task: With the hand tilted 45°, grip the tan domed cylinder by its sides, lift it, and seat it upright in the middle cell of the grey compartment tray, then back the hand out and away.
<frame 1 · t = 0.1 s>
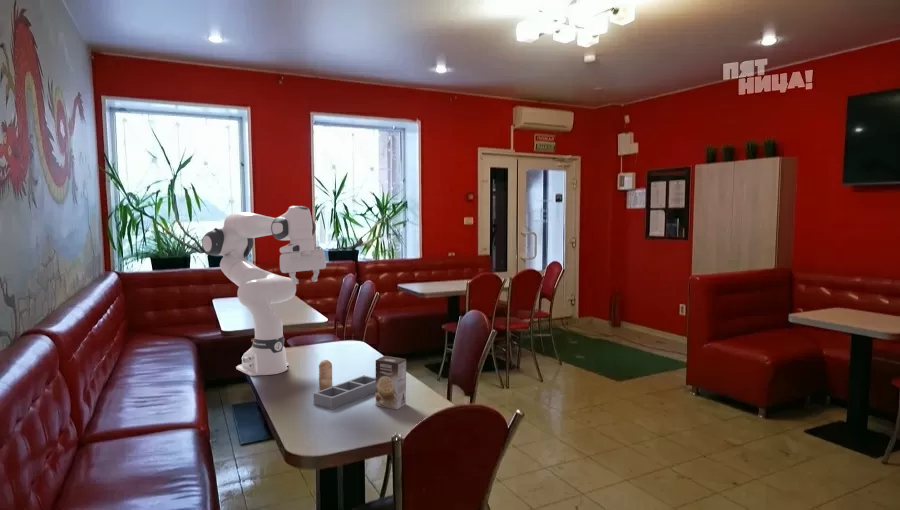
hand: (305, 282, 208), 39 cm above the table, tool pointing down, fingers open, 8 cm apart
tan domed cylinder: (325, 390, 200), on the table
coffee box: (390, 405, 185), on the table
grey compartment tray: (349, 396, 193), on the table
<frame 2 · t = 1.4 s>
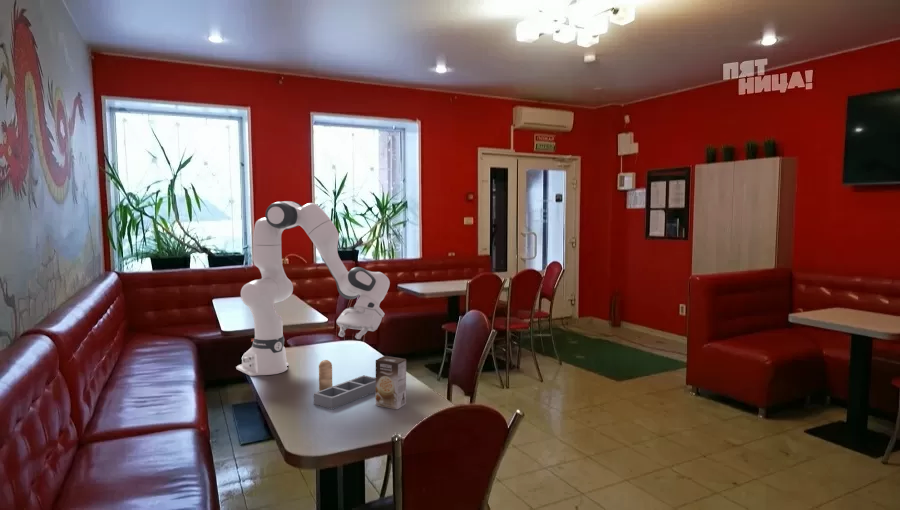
hand: (348, 337, 208), 18 cm above the table, tool tilted 45°, fingers open, 8 cm apart
nothing on the table moved.
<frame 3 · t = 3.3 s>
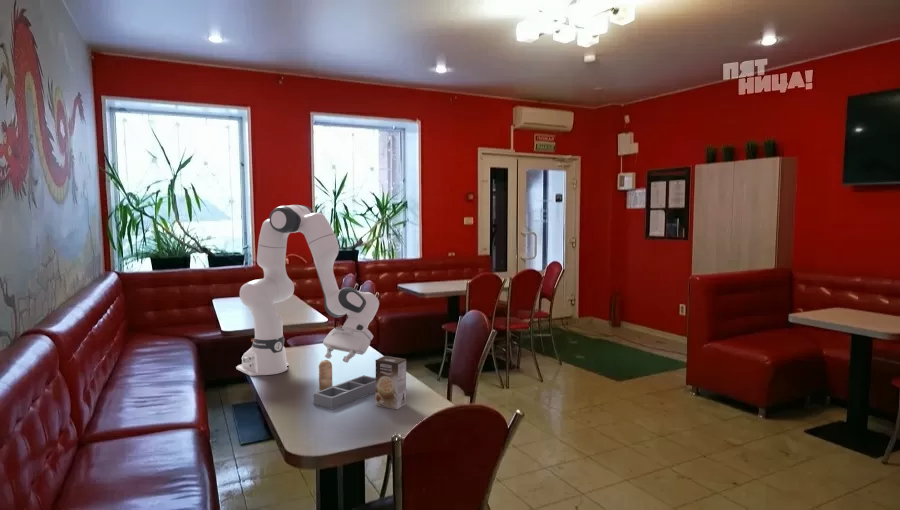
hand: (335, 359, 203), 10 cm above the table, tool tilted 45°, fingers open, 8 cm apart
nothing on the table moved.
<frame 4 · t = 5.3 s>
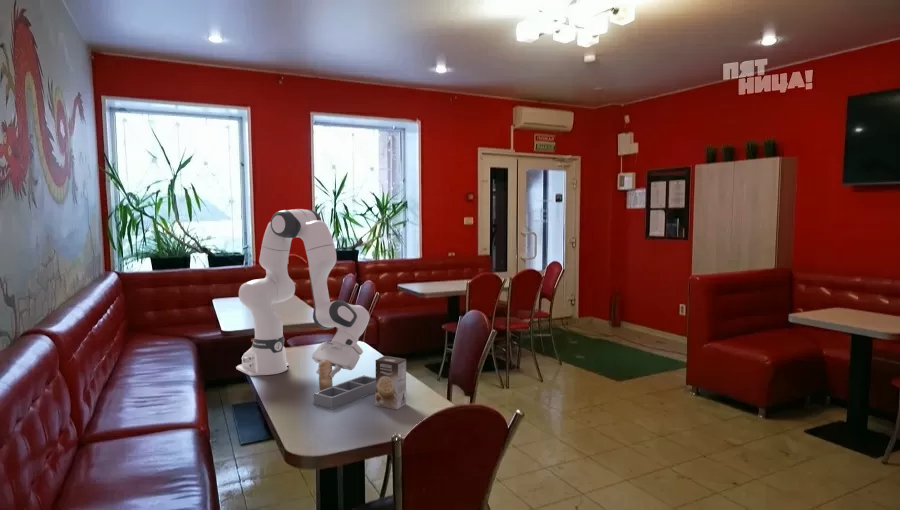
hand: (324, 375, 199), 6 cm above the table, tool tilted 45°, fingers closed on tan domed cylinder, 5 cm apart
tan domed cylinder: (325, 390, 200), on the table, touching gripper
everything else where it was.
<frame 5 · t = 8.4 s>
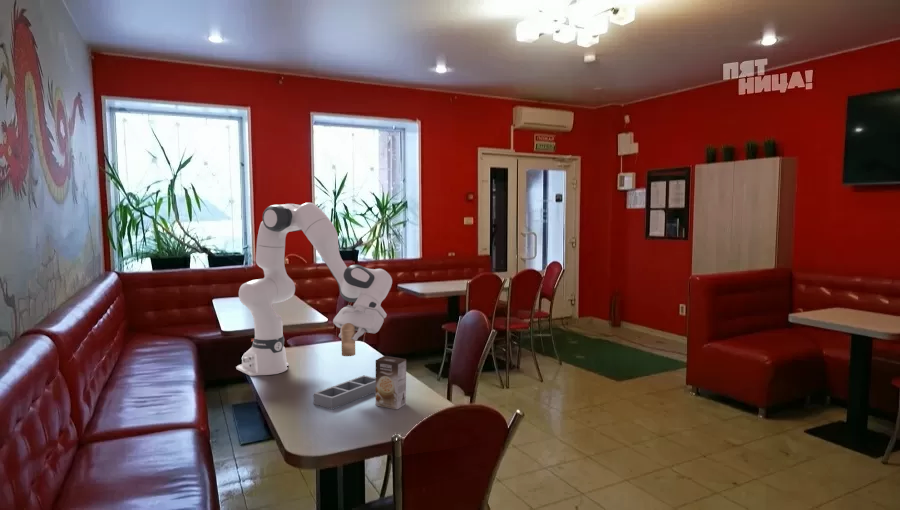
hand: (347, 338, 191), 21 cm above the table, tool tilted 45°, fingers closed on tan domed cylinder, 5 cm apart
tan domed cylinder: (348, 354, 192), point 15 cm above the table, touching gripper
everything else where it was.
when the fingers open (9 cm above the table, at t = 11.6 s): tan domed cylinder drops 2 cm, resting on grey compartment tray.
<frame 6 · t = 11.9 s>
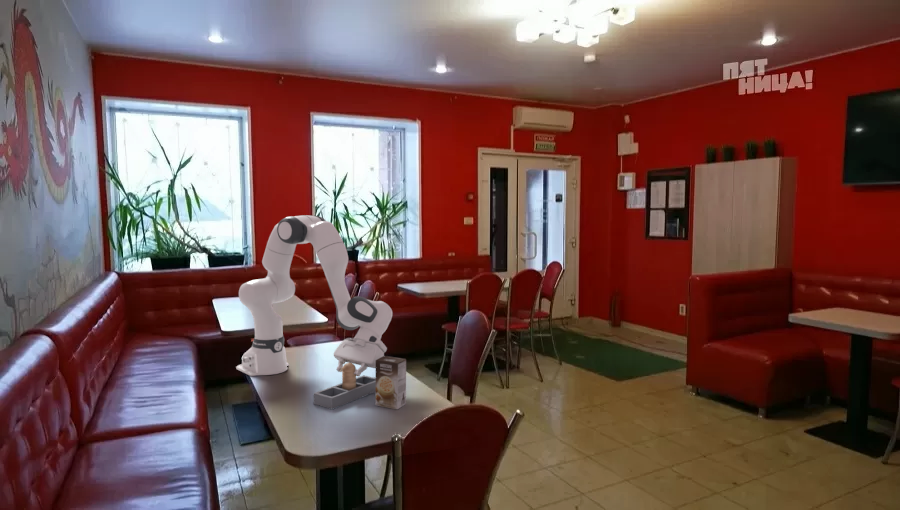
hand: (347, 373, 192), 9 cm above the table, tool tilted 45°, fingers open, 7 cm apart
tan domed cylinder: (349, 394, 193), point 1 cm above the table, touching grey compartment tray
everything else where it was.
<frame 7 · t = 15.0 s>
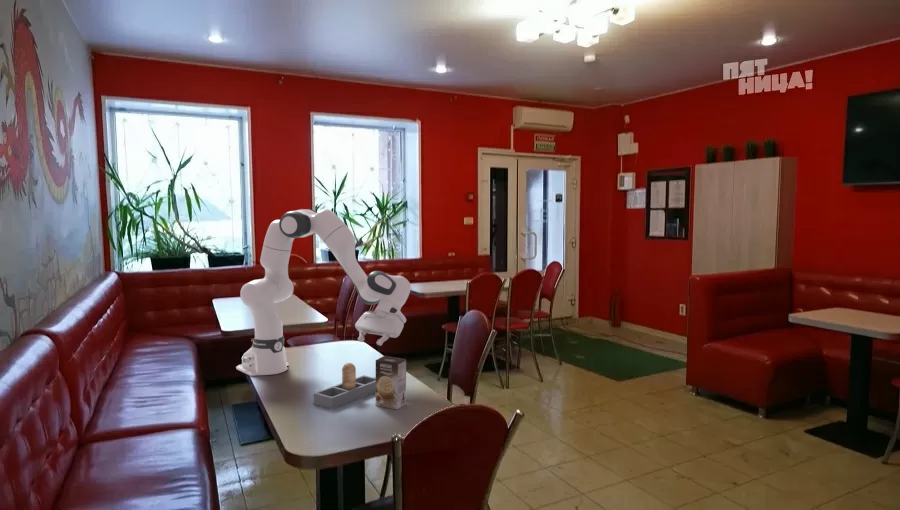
hand: (369, 342, 201), 17 cm above the table, tool tilted 45°, fingers open, 8 cm apart
nothing on the table moved.
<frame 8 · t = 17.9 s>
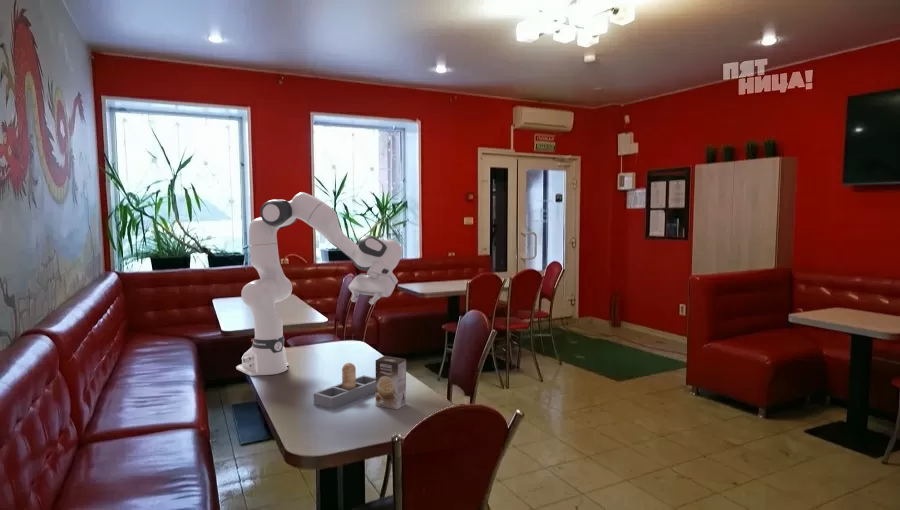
hand: (361, 302, 208), 31 cm above the table, tool tilted 45°, fingers open, 8 cm apart
nothing on the table moved.
at the end: tan domed cylinder 0.1 cm off-centre on the grey compartment tray, point 0.8 cm above the grey compartment tray's base; tan domed cylinder tilted 0°; the gripper is holding nothing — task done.
